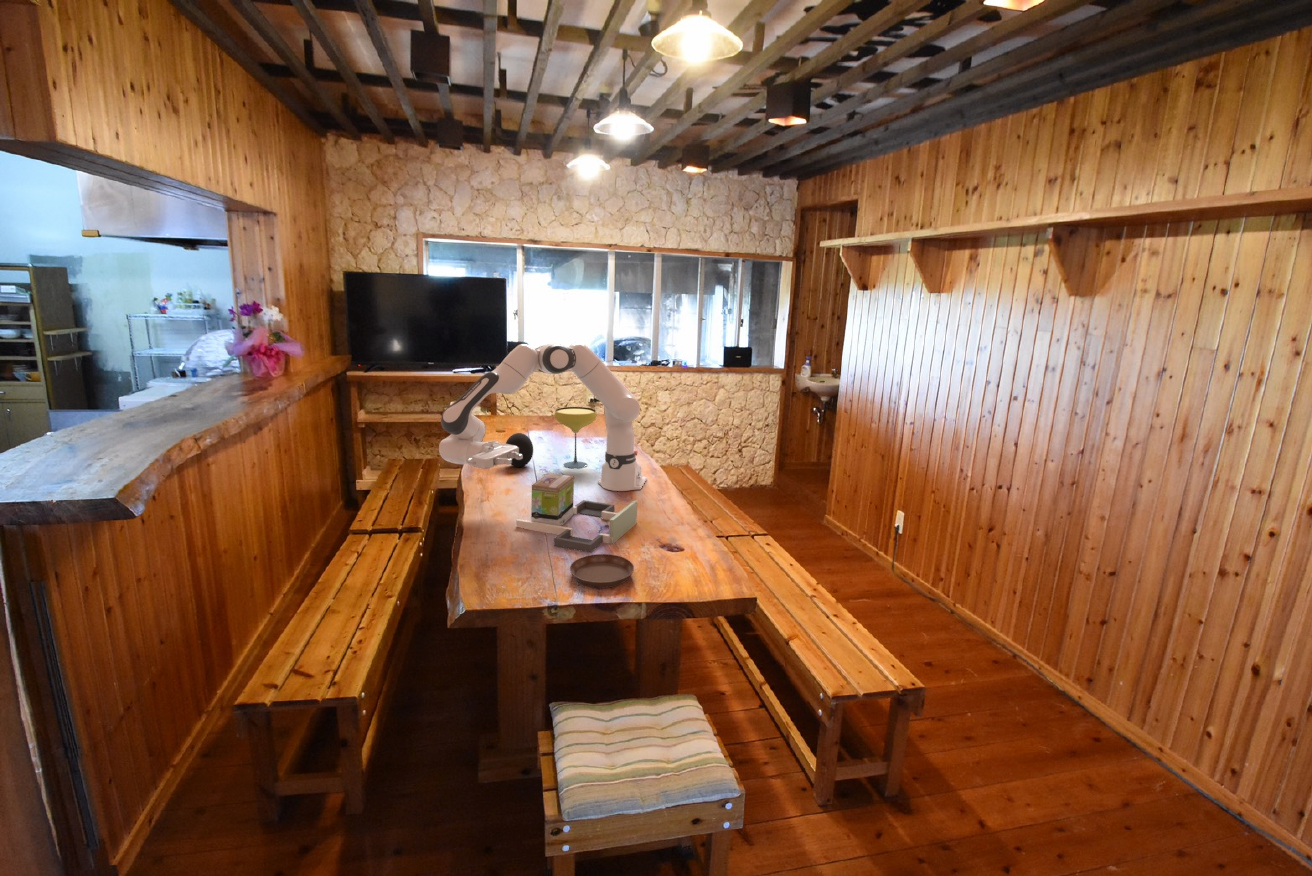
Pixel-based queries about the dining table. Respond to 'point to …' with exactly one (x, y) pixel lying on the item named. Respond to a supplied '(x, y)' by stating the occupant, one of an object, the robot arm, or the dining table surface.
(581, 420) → the cocktail glass
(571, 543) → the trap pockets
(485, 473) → the dining table surface
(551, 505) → the tea box
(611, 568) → the plant saucer
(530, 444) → the decorative egg
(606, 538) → the channel
